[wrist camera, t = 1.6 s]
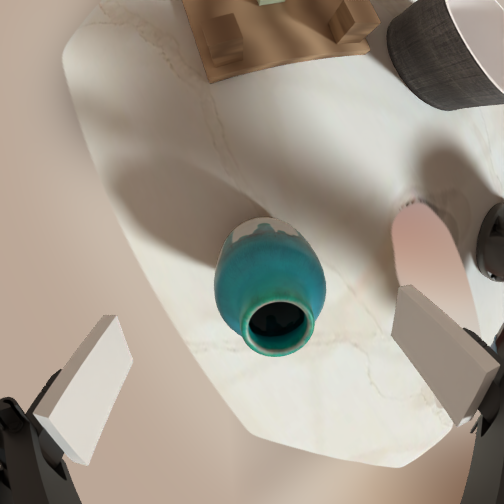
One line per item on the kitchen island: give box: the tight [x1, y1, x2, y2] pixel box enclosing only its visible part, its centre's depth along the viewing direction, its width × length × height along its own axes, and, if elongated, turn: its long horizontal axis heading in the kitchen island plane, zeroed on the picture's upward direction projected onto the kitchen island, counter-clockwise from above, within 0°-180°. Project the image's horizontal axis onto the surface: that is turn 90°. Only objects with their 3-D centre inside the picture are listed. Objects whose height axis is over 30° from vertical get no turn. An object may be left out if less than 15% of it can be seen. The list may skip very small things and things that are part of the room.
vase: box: [214, 217, 326, 357], centre depth 28 cm, size 11×11×19 cm
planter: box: [387, 0, 504, 111], centre depth 22 cm, size 18×18×16 cm
